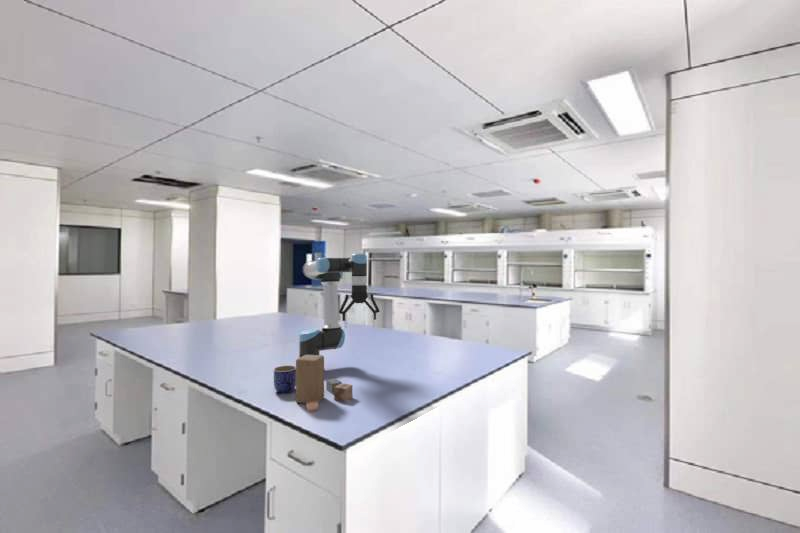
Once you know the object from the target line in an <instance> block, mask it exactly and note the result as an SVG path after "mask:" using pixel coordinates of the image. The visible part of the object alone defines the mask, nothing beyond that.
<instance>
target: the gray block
mask: <svg viewBox="0 0 800 533" xmlns="http://www.w3.org/2000/svg"><path fill="white" fill-rule="evenodd" d="M341 383H342V381H340V379H337V378H331V379H326V382H325V384H326V385H325V386H326V391H327V392H329V393H330V394H332V395H334V387H336V386H338V385H339V384H341Z"/></svg>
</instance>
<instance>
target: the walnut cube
mask: <svg viewBox="0 0 800 533" xmlns="http://www.w3.org/2000/svg"><path fill="white" fill-rule="evenodd" d="M333 395H334V396H333V398H334V400H333V401H338V402H342V403H343V402H344V403H346V402H348V401H349V400H351V399H353V384H347V383H341V384H339V385H338V386H336V387H334V394H333Z"/></svg>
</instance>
